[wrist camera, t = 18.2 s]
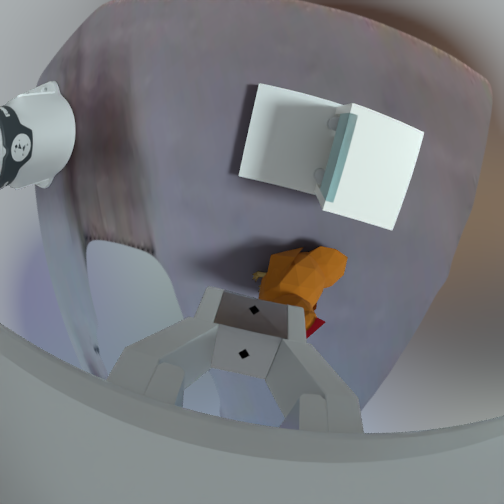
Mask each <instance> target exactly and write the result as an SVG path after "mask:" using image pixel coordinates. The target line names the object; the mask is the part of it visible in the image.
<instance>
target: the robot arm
mask: <svg viewBox="0 0 504 504" xmlns="http://www.w3.org/2000/svg"><path fill="white" fill-rule="evenodd" d="M46 90H47V91H46ZM74 141H75V120H74V115H73V112H72V109H71V107H70V105H69V103H68V102H67V101H66V99H65V98H64V97H63V96H62V95H61V94H60V91H59V87H58V84H57V83H56V82H55V81H50V82H47V83H45V84H43V85H41V86H38V87H36V88H34V89H32V90H30V91H28V92H26V93H24V94H21V95H18V97H16V98H14V99H12V100H10V101H8V102H7V103H6V104H5V105H3V106H0V189H2V188H4V187H5V186H7V185H9V186H10V187H12V188H14V189H15V190H19V189H22V188H25V187H28V186H31V185H34V184H35V185H37V186H39V187H41V188H47V187H49V186H50V184H51V182H52V180H53V178H54V176H55V175H56V174H57V173H58V172H59V171H61V170H62V169H63V168H64V166H65V165H66V164H67V162H68V160H69V158H70V156H71V153H72V150H73V146H74ZM210 368H215V369H220V370H225V371H229V372H234V373H239V374H243V375H248V376H252V377H256V378H261V379H265V381H266V383H267V385H268V387H269V389H270V391H271V393H272V395H273V397H274V399H275V400H276V402H277V404H278V406H279V408H280V410H281V412H282V413H283V415H284V417H285V420H284V421H283V423H282V424H281V425H280V427H279V428H278V427H271V426H264V425H258V424H252V423H247V422H241V421H236V420H231V419H227V418H222V417H218V416H213V415H208V414H205V413H201V412H197V411H193V410H190V409H186V408H183V395H184V390H185V389H186V388H187V387H188V386H190V385H191V384H192V383H193V382H195V381H196V380H197V379H198V378H200V377H201V376H202V375H203V374H205V373H206V372H207V371H208V370H210ZM0 504H504V416H500V417H496V418H493V419H489V420H484V421H479V422H475V423H470V424H464V425H459V426H453V427H446V428H439V429H431V430H422V431H410V432H396V433H395V432H394V433H364V431H363V424H362V418H361V412H360V406H359V400H358V397H357V396H356V395H355V394H354V393H353V391H352V390H351V389H350V388H349V387H348V386H347V385H346V383H345V382H344V381H343V380H342V379H341V378H340V377H339V376H338V374H337V373H336V372H335V371H334V370H333V369H332V367H331V366H330V365H329V364H328V363H327V362H326V361H325V359H324V358H323V357H322V356H321V355H320V354H319V353H318V351H317V350H316V349H315V348H314V347H313V346H312V344H308V343H307V341H306V329H305V317H304V309H303V308H302V307H298V306H292V305H285V304H280V303H275V302H270V301H266V300H261V299H257V298H254V297H250V296H246V295H242V294H239V293H235V292H231V291H227V290H223V289H219V288H215V287H211V286H208V287H207V288H206V290H205V293H204V295H203V297H202V300H201V302H200V304H199V307H198V309H197V312H196V314H195V316H194V318H192V317H187V318H185V319H183V320H181V321H179V322H177V323H175V324H173V325H171V326H169V327H167V328H165V329H163V330H161V331H159V332H157V333H155V334H153V335H151V336H148V337H146V338H144V339H142V340H140V341H138V342H136V343H134V344H132V345H130V346H127V347H125V349H124V350H123V352H122V354H121V355H120V357H119V359H118V360H117V362H116V364H115V366H114V367H113V369H112V371H111V372H110V374H109V376H108V378H107V379H106V380H103V379H101V378H99V377H97V376H94V375H92V374H90V373H88V372H86V371H83V370H81V369H79V368H77V367H75V366H73V365H71V364H69V363H67V362H65V361H63V360H61V359H59V358H57V357H55V356H54V355H52V354H50V353H48V352H46V351H44V350H43V349H41V348H39V347H37V346H36V345H34V344H32V343H31V342H29V341H27V340H26V339H24V338H22V337H21V336H19V335H18V334H16V333H14V332H13V331H11V330H10V329H8V328H7V327H5V326H4V325H2V324H1V323H0Z"/></svg>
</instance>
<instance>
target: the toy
mask: <svg viewBox="0 0 504 504" xmlns="http://www.w3.org/2000/svg"><path fill="white" fill-rule="evenodd" d="M302 249H303V247H302V248H298V249H293V250H289V251H285V252H281V253H276V254H272V255H271V257H270V262H269V267H268V272H267V273H265V272H260V271H258V272H256V273H254V274H252V275H254V277H253V279H255V278H256V280H255V282H256V281H257V279H258V278H259V277H263V278H262V281H261V285H260V286H258V287H260V289H259V291H260V293H259V299H261V300H266V301H270V302H275V303H280V304H285V305H292V306H298V307H302V308H303V309H304V317H305V329H306V339H307V338H308V337H309V336H310V335H311V334H313V333H314V332H315V331H316V330H317V329H318V328H319V327H321V326H322V325H323V324H324V323H325V321H323V320H321V319H319V318H317V316H316V314H315V312H314V310H315V309H316V304H317V301H318V299H319V297H320V295H321V294H322V292H323V288H326V287H330V286H332V285H333V284H334V283H335V282H336V281H337V280H338V279H340V278H341V277H342V276H343V275H344V271H345V267H346V262H347V258H348V257H346V256H345V255H343V254H342V253H341V252H339V251H338V250H336V249H332V248H327V247H322V246H320V247H318V248H316V249H314V250H312V251H310V252H300V251H301V250H302ZM299 252H300V253H299ZM253 279H252V280H253ZM259 291H258V292H259Z"/></svg>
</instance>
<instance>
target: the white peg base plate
mask: <svg viewBox="0 0 504 504" xmlns="http://www.w3.org/2000/svg"><path fill="white" fill-rule="evenodd" d="M338 106H342V105H341V104H338V103H335V102H332V101H328V100H325V99H322V98H318V97H315V96H311V95H307V94H304V93H300V92H296V91H292V90H288V89H283V88H279V87H274V86H270V85H265V84H260V83H259V86H258V91H257V95H256V99H255V103H254V108H253V112H252V117H251V121H250V126H249V130H248V135H247V139H246V144H245V148H244V153H243V158H242V162H241V167H240V172H239V176H240V177H244V178H249V179H253V180H258V181H262V182H266V183H270V184H275V185H279V186H283V187H287V188H291V189H294V190H298V191H302V192H306V193H310V194H313V195H316V194H315V192H314V190H315V187H316V184H319V185H321V184H322V180H323V177H324V173H325V170H326V166H327V163H328V159H329V155H330V152H331V148H332V144H333V141H334V137H335V133H336V129H337V125H338V122H339V118H340V116H338V115H335V113H336V109H337V107H338Z"/></svg>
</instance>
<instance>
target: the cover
mask: <svg viewBox="0 0 504 504" xmlns="http://www.w3.org/2000/svg"><path fill="white" fill-rule="evenodd" d="M335 115H338V116H340V118H339V122H338V125H337V129H336V133H335V137H334V141H333V144H332V148H331V152H330V155H329V159H328V163H327V166H326V170H325V173H324V177H323V180H322V184H321V185H319V184H316V187H315V190H314V192H315V194H316V196H317V198H318V201H319V203H320V205H321V207H322V210H324V211H328V212H332V213H335V214H339V215H342V216H346V217H349V218H353V219H356V220H359V221H363V222H366V223H369V224H373V225H376V226H379V227H383V228H386V229H389V230H393V227H394V224H395V222H396V219H397V217H398V214H399V211H400V208H401V206H402V203H403V200H404V197H405V194H406V191H407V188H408V185H409V182H410V179H411V176H412V173H413V170H414V167H415V163H416V160H417V157H418V153H419V150H420V146H421V142H422V139H423V135H424V132H422V131H420V130H418V129H416V128H413V127H411V126H409V125H407V124H405V123H402V122H400V121H398V120H395V119H393V118H391V117H388V116H386V115H383V114H381V113H378V112H376V111H373V110H371V109H368V108H365V107H362V106H360V105H357V104H354V103H351V104H346V105H342V106H338V107H337V109H336V113H335Z"/></svg>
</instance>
